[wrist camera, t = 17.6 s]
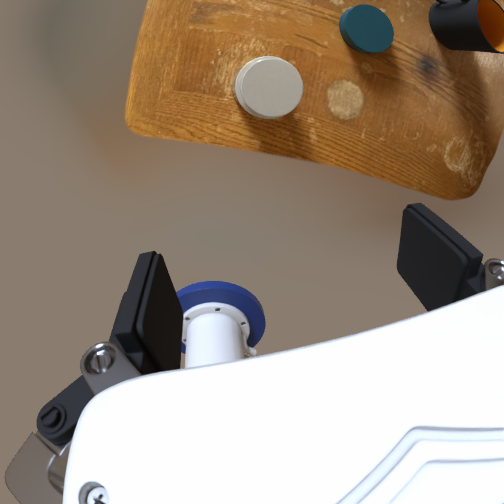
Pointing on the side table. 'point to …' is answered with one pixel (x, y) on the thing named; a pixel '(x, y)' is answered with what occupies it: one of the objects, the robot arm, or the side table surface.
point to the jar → (267, 87)
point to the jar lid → (366, 29)
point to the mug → (468, 25)
